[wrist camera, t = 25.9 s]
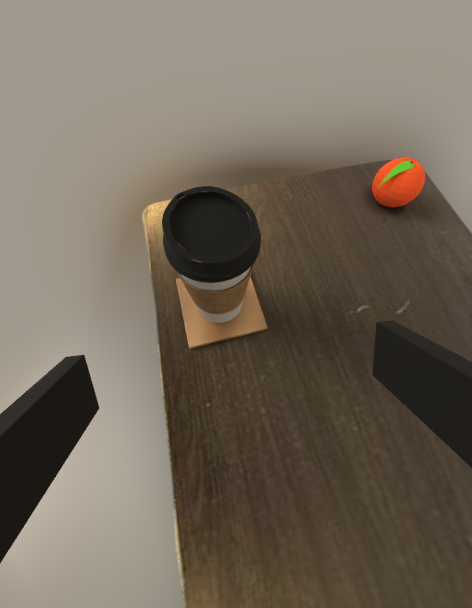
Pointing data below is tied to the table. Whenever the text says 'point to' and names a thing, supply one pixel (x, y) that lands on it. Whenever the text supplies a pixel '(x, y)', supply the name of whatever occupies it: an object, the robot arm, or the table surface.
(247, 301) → the trivet
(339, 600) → the table surface
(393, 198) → the clementine
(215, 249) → the coffee cup
